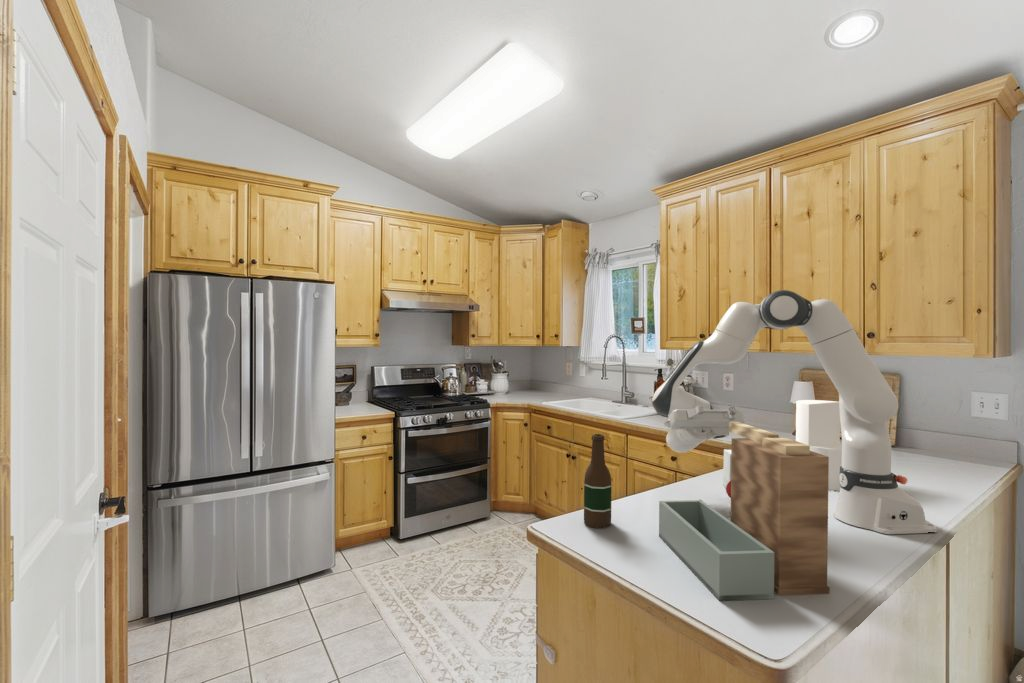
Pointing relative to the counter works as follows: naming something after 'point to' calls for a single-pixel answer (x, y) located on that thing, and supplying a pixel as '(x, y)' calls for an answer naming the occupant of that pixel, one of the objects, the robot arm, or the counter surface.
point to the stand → (784, 511)
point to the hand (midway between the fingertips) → (718, 409)
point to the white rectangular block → (821, 433)
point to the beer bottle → (597, 487)
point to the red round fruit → (728, 489)
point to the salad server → (769, 439)
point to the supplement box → (727, 467)
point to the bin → (717, 551)
